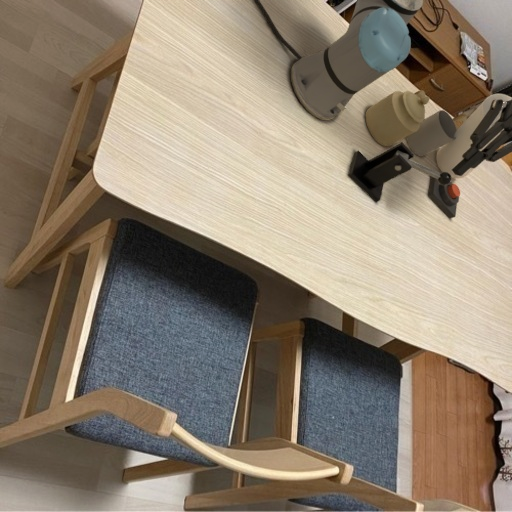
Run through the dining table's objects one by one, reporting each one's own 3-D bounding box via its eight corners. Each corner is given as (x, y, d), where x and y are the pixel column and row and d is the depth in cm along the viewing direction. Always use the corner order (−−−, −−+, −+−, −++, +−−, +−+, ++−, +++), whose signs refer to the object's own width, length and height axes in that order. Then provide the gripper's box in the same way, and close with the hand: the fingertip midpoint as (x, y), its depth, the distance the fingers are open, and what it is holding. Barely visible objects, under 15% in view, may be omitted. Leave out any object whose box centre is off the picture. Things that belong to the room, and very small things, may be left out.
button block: (427, 196, 150) (439, 190, 148) (431, 175, 155) (442, 170, 153) (450, 218, 154) (461, 214, 152) (452, 198, 159) (463, 193, 156)
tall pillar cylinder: (429, 163, 159) (475, 114, 136) (447, 137, 163) (494, 85, 139) (461, 185, 158) (512, 140, 135) (478, 159, 162) (531, 110, 138)
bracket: (381, 179, 138) (422, 158, 130) (376, 202, 134) (418, 182, 125) (354, 152, 134) (395, 129, 126) (348, 175, 130) (389, 152, 121)
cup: (425, 161, 155) (457, 145, 148) (406, 145, 151) (438, 128, 144) (425, 138, 160) (456, 121, 152) (406, 122, 155) (438, 104, 148)
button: (446, 193, 151) (451, 190, 149) (447, 183, 153) (453, 181, 152) (454, 201, 152) (459, 199, 151) (455, 192, 154) (460, 189, 153)
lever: (447, 180, 130) (454, 172, 127) (446, 190, 128) (453, 181, 126) (392, 156, 129) (398, 147, 127) (390, 165, 127) (396, 156, 125)
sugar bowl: (366, 88, 147) (415, 56, 137) (394, 112, 153) (442, 82, 142) (363, 131, 140) (414, 101, 129) (392, 154, 145) (443, 127, 135)
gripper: (542, 121, 130) (464, 192, 131) (511, 76, 126) (431, 149, 128) (564, 121, 123) (481, 196, 124) (532, 74, 119) (447, 151, 120)
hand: (456, 172), depth 126 cm, fingers closed
